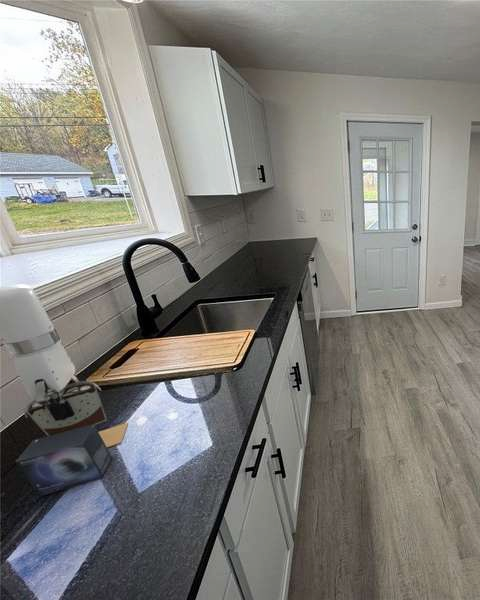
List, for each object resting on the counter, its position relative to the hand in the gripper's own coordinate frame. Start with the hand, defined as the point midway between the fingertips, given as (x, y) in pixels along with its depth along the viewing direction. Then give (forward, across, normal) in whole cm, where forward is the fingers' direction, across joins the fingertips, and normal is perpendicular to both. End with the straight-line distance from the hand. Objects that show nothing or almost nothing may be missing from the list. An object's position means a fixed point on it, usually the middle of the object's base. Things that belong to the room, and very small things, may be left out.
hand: (71, 407), depth 74 cm
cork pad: (+11, 0, 0) cm, 11 cm away
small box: (+12, +11, 0) cm, 16 cm away
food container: (+5, 0, 0) cm, 5 cm away
